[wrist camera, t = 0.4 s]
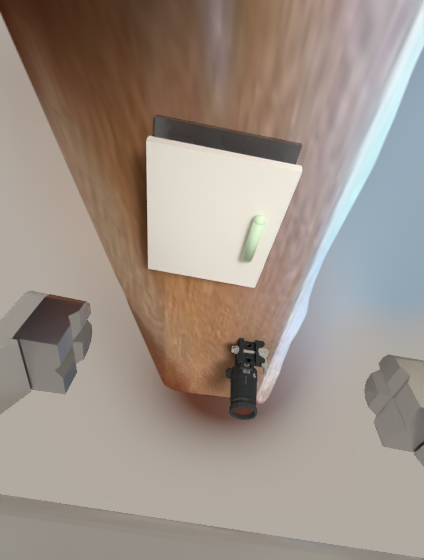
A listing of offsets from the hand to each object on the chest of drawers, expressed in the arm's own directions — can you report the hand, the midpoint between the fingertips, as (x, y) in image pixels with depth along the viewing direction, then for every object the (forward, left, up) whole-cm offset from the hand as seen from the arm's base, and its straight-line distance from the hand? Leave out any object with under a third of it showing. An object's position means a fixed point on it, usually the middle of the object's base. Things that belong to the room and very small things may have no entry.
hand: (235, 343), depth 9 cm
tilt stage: (+17, -1, -33) cm, 37 cm away
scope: (+52, +12, -38) cm, 66 cm away
